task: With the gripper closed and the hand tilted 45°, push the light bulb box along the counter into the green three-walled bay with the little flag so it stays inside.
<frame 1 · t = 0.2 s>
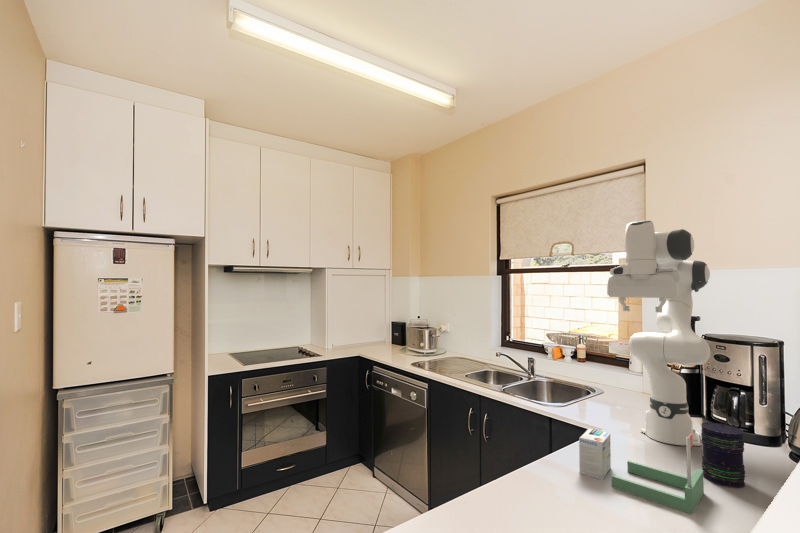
hand: (642, 311, 130), 48 cm above the worktop, tool pointing down, fingers open, 8 cm apart
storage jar: (723, 480, 117), on the worktop
putting bay: (656, 489, 111), on the worktop
light bulb box: (595, 471, 122), on the worktop
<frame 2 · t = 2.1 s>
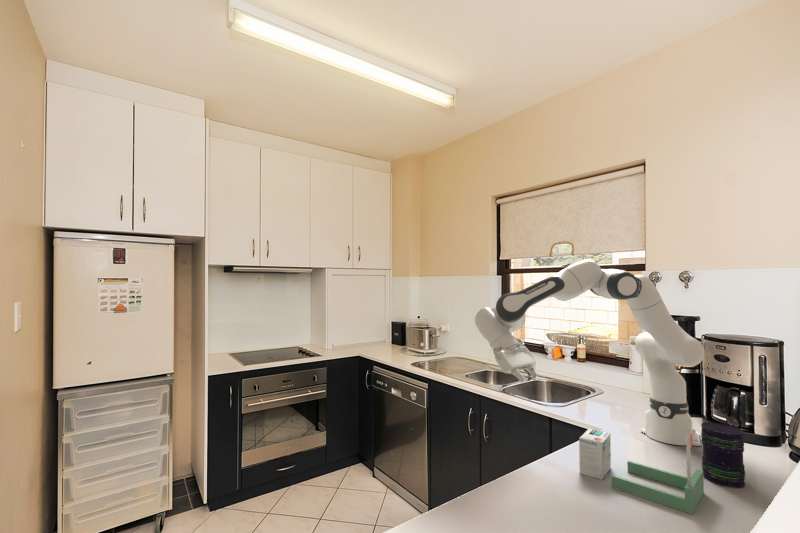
hand: (530, 379, 138), 24 cm above the worktop, tool tilted 45°, fingers open, 8 cm apart
nothing on the worktop moved.
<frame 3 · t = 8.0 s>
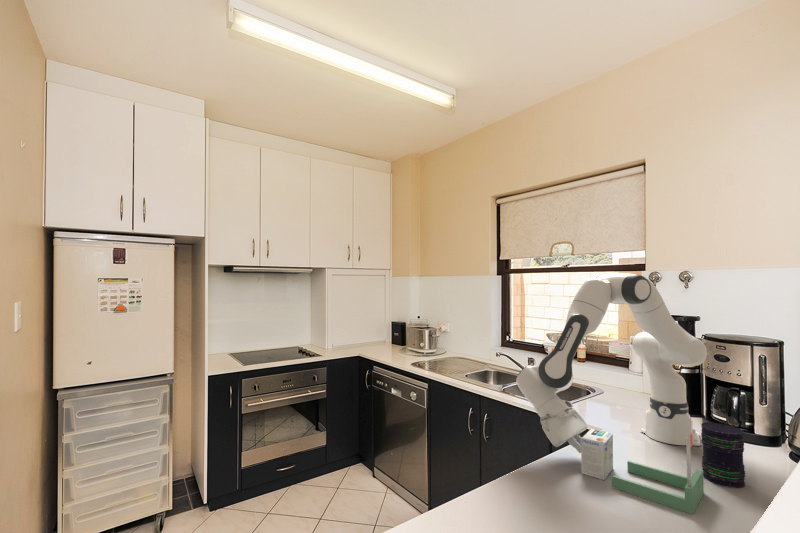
hand: (583, 450, 125), 5 cm above the worktop, tool tilted 45°, fingers closed
light bulb box: (597, 471, 122), on the worktop, touching gripper
everything else where it was.
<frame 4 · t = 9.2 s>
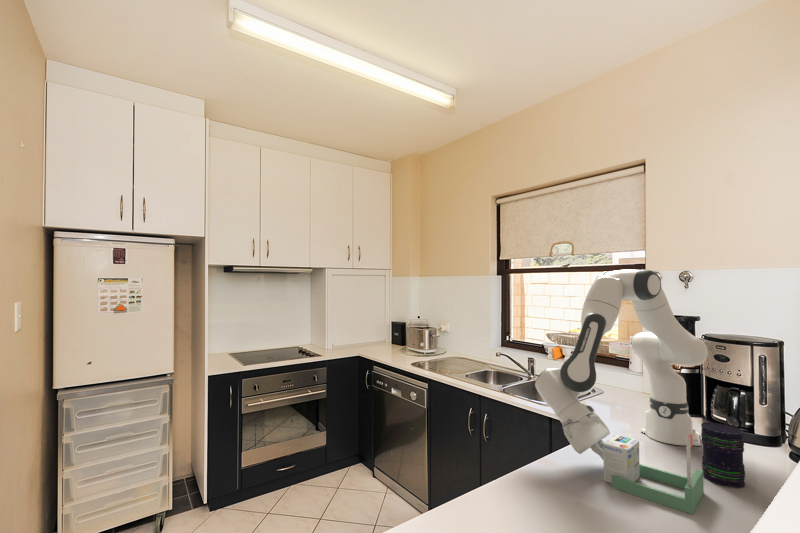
hand: (607, 457, 120), 5 cm above the worktop, tool tilted 45°, fingers closed, pressing on light bulb box
light bulb box: (621, 479, 117), on the worktop, touching gripper
everything else where it was.
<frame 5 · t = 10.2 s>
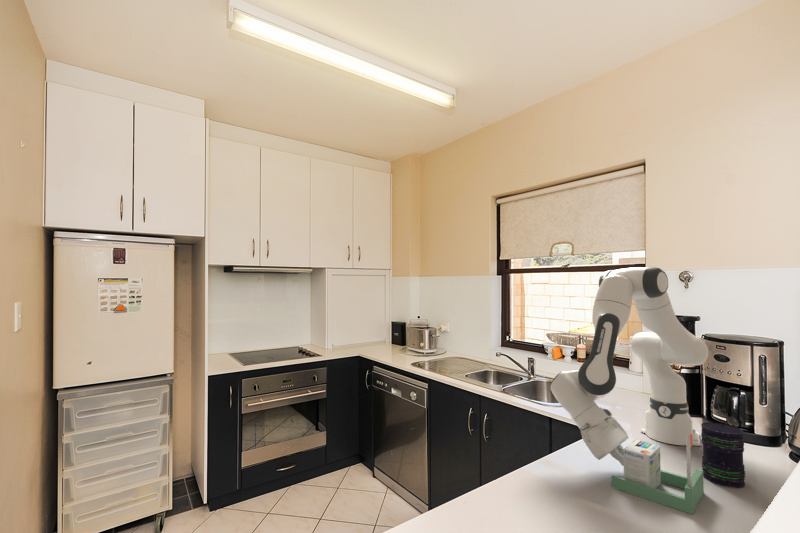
hand: (627, 463, 116), 5 cm above the worktop, tool tilted 45°, fingers closed, pressing on light bulb box
light bulb box: (642, 486, 113), on the worktop, touching gripper
everything else where it was.
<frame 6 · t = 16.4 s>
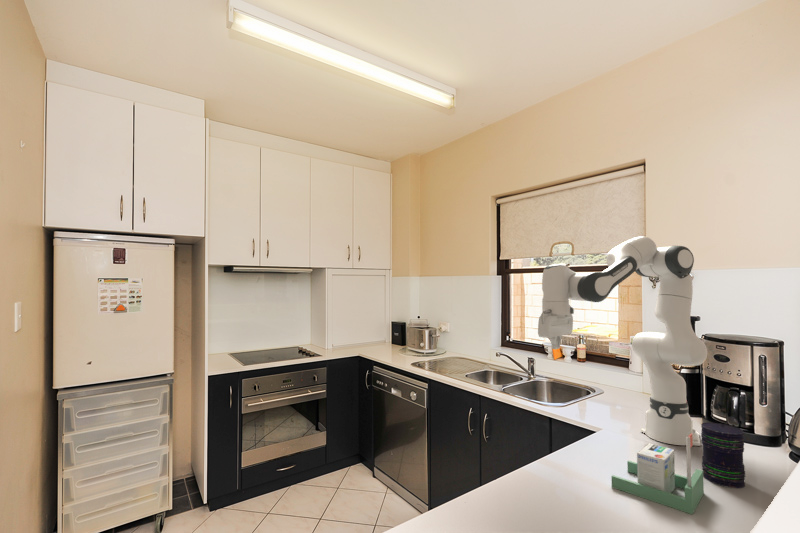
hand: (555, 348, 141), 34 cm above the worktop, tool pointing down, fingers closed
light bulb box: (656, 491, 110), on the worktop
everything else where it was.
at the end: light bulb box inside the target area on the putting bay (2.3 cm from its centre), point 0.0 cm above the putting bay's base; light bulb box tilted 0°; the gripper is holding nothing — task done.
